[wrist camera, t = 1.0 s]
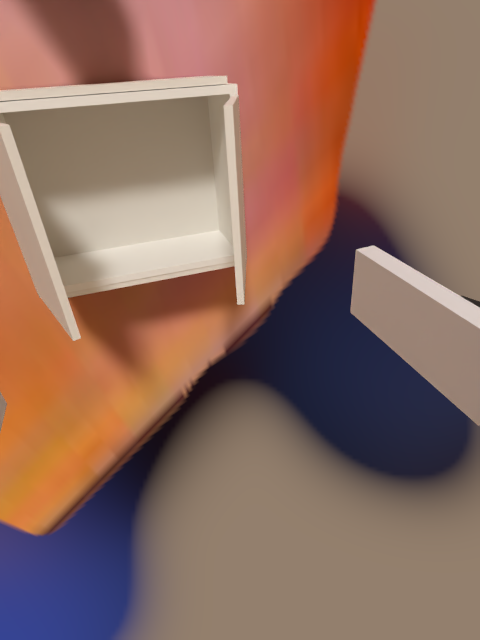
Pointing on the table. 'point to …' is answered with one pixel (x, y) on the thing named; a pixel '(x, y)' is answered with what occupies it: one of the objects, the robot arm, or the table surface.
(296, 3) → the table surface
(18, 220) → the flap
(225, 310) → the table surface
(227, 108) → the flap
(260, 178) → the table surface
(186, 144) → the carton
